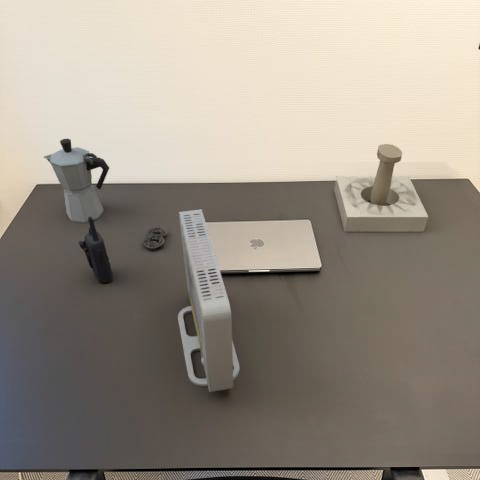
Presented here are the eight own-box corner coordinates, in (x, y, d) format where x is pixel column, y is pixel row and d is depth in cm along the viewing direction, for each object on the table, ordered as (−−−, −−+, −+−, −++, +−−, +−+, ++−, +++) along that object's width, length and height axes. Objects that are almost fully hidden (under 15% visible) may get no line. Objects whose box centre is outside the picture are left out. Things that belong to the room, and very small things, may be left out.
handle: (370, 218, 111) (384, 158, 100) (362, 203, 115) (374, 144, 104) (390, 216, 111) (406, 156, 100) (380, 202, 116) (395, 143, 105)
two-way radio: (116, 281, 95) (99, 219, 84) (94, 289, 94) (75, 226, 83) (107, 266, 99) (90, 204, 88) (86, 273, 97) (67, 211, 86)
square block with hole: (404, 190, 119) (408, 176, 116) (423, 231, 107) (428, 216, 104) (334, 190, 119) (336, 176, 117) (344, 231, 107) (347, 216, 104)
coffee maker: (52, 220, 111) (27, 147, 98) (68, 200, 117) (46, 129, 104) (112, 226, 109) (94, 152, 96) (125, 206, 115) (110, 134, 102)
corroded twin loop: (170, 230, 107) (169, 226, 107) (163, 251, 102) (162, 248, 101) (148, 229, 108) (148, 225, 107) (140, 250, 102) (139, 246, 101)
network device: (247, 396, 75) (248, 307, 61) (193, 406, 74) (181, 317, 60) (218, 292, 93) (213, 203, 79) (174, 298, 92) (161, 210, 77)
